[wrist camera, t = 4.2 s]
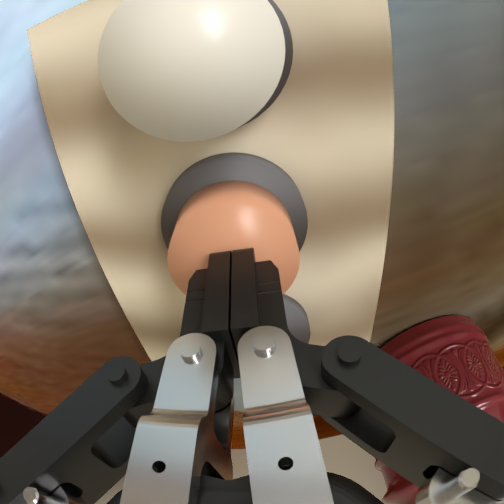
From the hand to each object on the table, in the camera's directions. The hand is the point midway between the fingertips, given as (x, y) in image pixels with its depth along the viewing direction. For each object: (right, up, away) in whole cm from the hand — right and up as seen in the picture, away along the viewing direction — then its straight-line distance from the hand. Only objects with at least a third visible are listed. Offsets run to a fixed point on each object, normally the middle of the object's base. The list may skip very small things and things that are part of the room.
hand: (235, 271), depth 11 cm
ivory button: (-1, +6, -3) cm, 7 cm away
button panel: (0, +3, +4) cm, 6 cm away
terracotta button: (0, +1, +1) cm, 2 cm away
